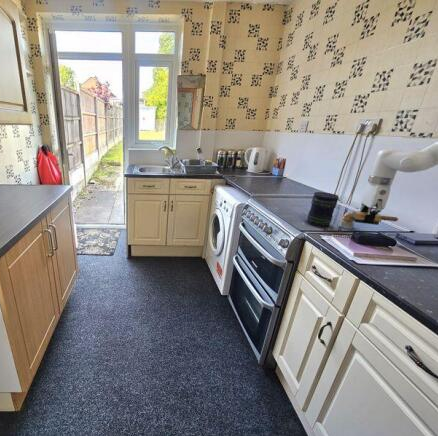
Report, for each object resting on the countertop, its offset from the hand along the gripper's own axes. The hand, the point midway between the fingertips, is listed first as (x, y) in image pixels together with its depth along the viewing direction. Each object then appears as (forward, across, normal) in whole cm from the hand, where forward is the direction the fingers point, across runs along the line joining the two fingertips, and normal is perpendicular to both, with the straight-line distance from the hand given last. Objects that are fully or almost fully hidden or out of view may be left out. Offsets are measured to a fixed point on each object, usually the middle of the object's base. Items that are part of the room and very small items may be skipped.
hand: (364, 220), depth 109 cm
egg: (+6, +8, +3) cm, 11 cm away
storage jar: (+7, +7, +15) cm, 18 cm away
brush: (+1, 0, -3) cm, 3 cm away
